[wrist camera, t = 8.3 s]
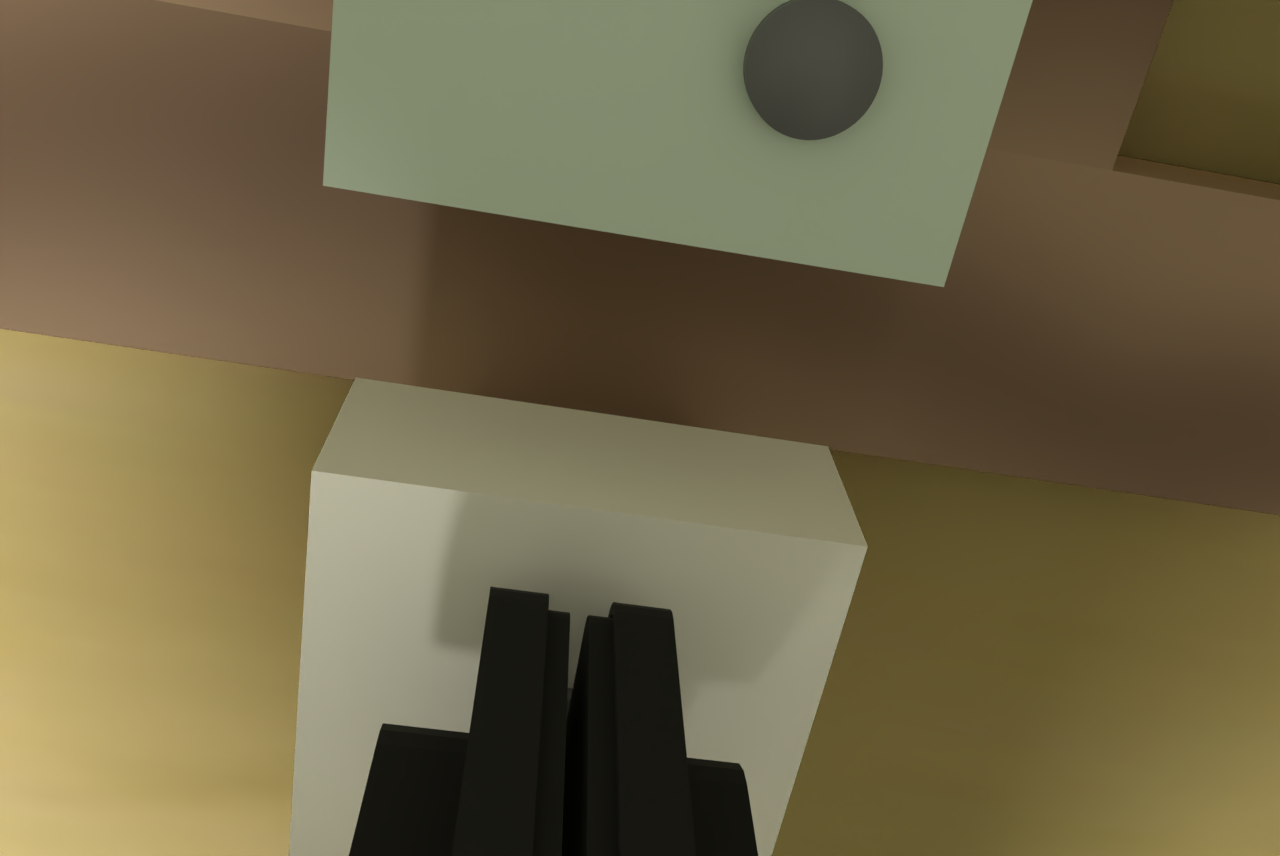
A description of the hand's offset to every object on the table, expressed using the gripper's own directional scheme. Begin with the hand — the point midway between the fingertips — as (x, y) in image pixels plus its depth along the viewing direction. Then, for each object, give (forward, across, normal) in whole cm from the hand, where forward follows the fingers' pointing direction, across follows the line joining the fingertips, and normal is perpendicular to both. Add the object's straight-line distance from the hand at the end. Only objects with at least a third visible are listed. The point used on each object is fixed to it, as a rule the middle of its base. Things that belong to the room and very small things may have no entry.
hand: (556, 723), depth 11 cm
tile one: (+4, 0, 0) cm, 5 cm away
